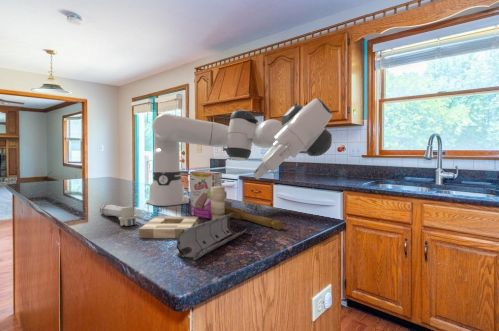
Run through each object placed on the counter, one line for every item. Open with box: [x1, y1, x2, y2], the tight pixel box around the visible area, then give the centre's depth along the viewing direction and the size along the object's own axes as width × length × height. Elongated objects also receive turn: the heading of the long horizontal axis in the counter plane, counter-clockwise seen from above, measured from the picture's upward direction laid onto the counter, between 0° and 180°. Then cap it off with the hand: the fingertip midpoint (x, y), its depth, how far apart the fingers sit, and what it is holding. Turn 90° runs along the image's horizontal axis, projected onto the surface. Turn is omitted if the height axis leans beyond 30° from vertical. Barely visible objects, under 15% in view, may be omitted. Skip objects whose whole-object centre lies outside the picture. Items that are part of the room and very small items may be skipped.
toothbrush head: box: [99, 203, 138, 227], centre depth 107 cm, size 5×7×25 cm
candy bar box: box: [189, 170, 223, 220], centre depth 110 cm, size 11×5×16 cm, turn 57°
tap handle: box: [223, 206, 284, 231], centre depth 106 cm, size 3×3×30 cm
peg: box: [211, 186, 226, 220], centre depth 94 cm, size 4×4×13 cm
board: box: [138, 216, 199, 239], centre depth 93 cm, size 15×14×2 cm
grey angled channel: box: [176, 213, 249, 261], centre depth 81 cm, size 7×7×25 cm
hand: (255, 176), depth 93 cm, fingers open, 8 cm apart
